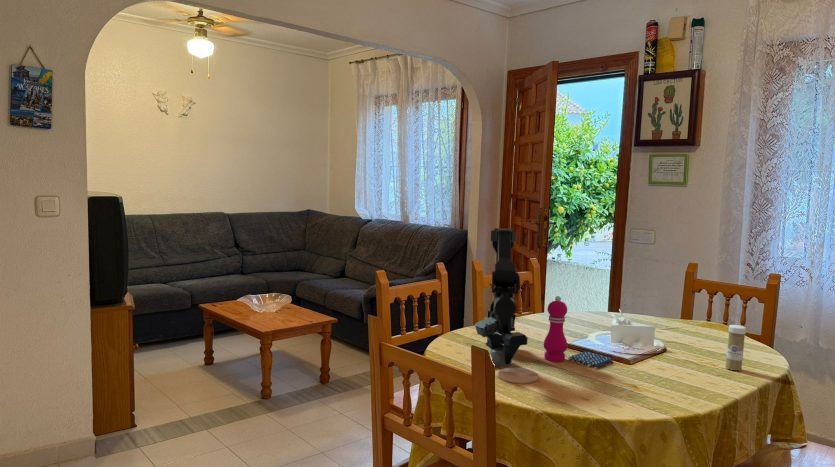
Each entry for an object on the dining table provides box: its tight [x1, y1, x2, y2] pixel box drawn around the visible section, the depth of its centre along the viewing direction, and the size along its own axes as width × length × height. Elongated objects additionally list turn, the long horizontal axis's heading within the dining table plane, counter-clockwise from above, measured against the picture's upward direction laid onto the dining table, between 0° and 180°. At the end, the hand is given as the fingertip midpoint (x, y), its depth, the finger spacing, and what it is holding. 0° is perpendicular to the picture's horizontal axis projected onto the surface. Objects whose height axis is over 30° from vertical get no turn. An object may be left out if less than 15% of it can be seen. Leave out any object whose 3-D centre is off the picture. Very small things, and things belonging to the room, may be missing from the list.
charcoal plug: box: [489, 347, 513, 368], centre depth 178 cm, size 9×4×4 cm, turn 114°
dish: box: [587, 308, 665, 351], centre depth 204 cm, size 25×25×11 cm
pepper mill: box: [543, 295, 568, 363], centre depth 185 cm, size 7×7×20 cm
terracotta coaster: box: [498, 367, 539, 385], centre depth 169 cm, size 11×11×1 cm
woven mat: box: [567, 350, 614, 370], centre depth 184 cm, size 10×11×2 cm
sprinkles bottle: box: [725, 324, 747, 371], centre depth 180 cm, size 5×5×13 cm
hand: (500, 360), depth 179 cm, fingers open, 7 cm apart
